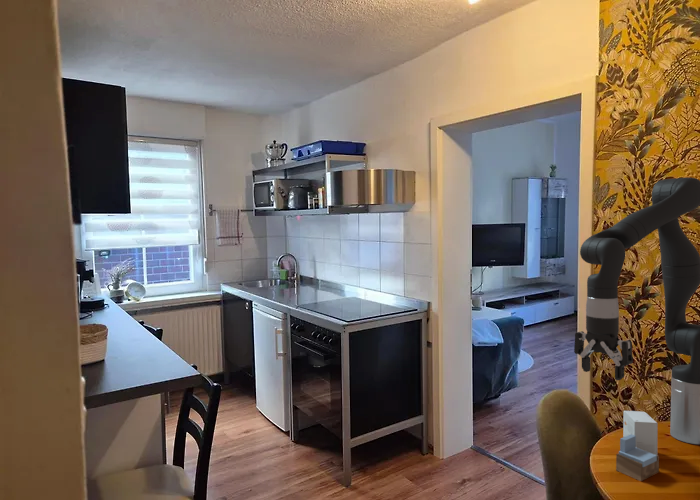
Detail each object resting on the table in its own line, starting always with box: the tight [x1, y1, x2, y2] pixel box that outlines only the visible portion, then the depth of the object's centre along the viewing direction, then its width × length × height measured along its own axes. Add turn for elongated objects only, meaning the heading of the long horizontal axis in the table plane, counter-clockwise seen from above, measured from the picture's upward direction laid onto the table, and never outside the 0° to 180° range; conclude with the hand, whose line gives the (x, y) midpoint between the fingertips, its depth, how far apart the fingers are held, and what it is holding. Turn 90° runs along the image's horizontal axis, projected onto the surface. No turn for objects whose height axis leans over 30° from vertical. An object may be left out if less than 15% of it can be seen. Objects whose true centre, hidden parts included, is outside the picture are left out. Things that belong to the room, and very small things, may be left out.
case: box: [615, 448, 660, 482], centre depth 117 cm, size 8×6×4 cm
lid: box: [618, 434, 658, 467], centre depth 117 cm, size 6×6×5 cm
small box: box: [622, 410, 659, 455], centre depth 125 cm, size 8×6×10 cm
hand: (602, 375), depth 123 cm, fingers open, 8 cm apart
